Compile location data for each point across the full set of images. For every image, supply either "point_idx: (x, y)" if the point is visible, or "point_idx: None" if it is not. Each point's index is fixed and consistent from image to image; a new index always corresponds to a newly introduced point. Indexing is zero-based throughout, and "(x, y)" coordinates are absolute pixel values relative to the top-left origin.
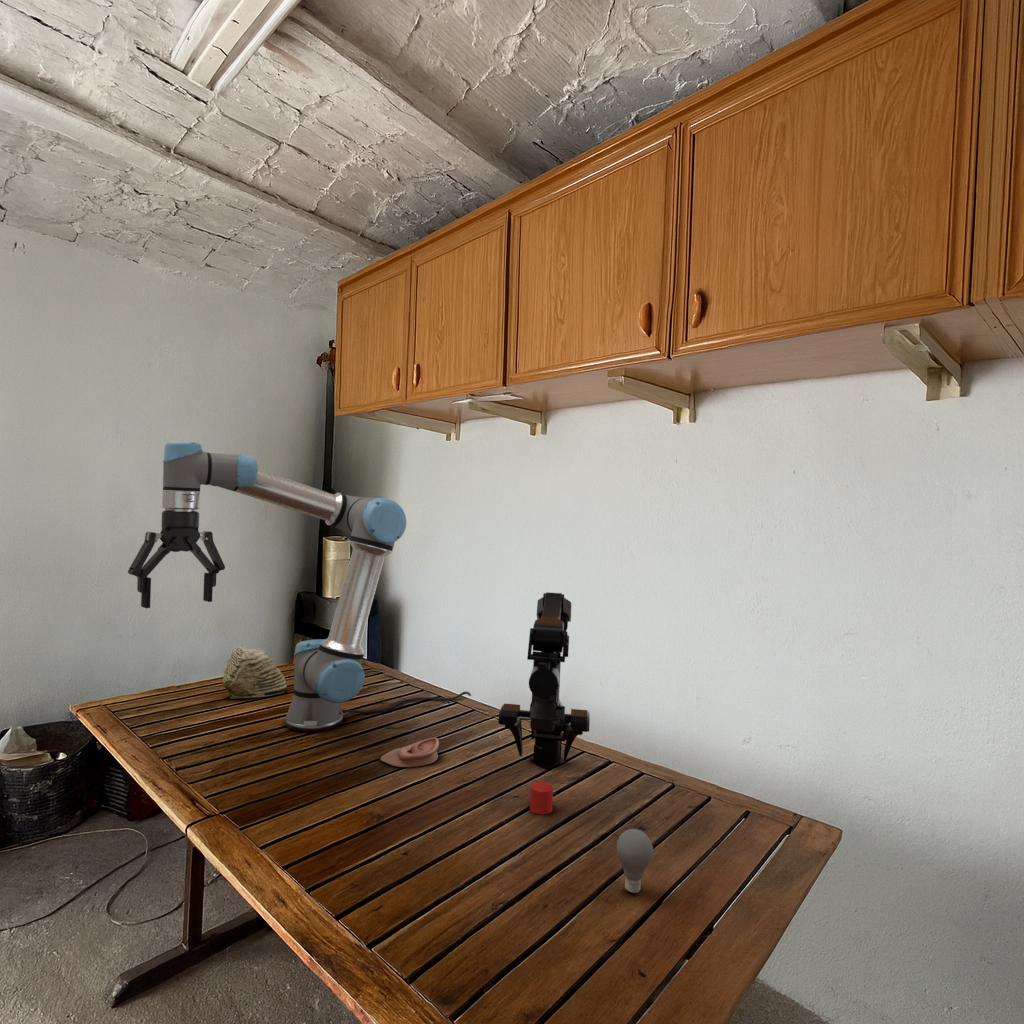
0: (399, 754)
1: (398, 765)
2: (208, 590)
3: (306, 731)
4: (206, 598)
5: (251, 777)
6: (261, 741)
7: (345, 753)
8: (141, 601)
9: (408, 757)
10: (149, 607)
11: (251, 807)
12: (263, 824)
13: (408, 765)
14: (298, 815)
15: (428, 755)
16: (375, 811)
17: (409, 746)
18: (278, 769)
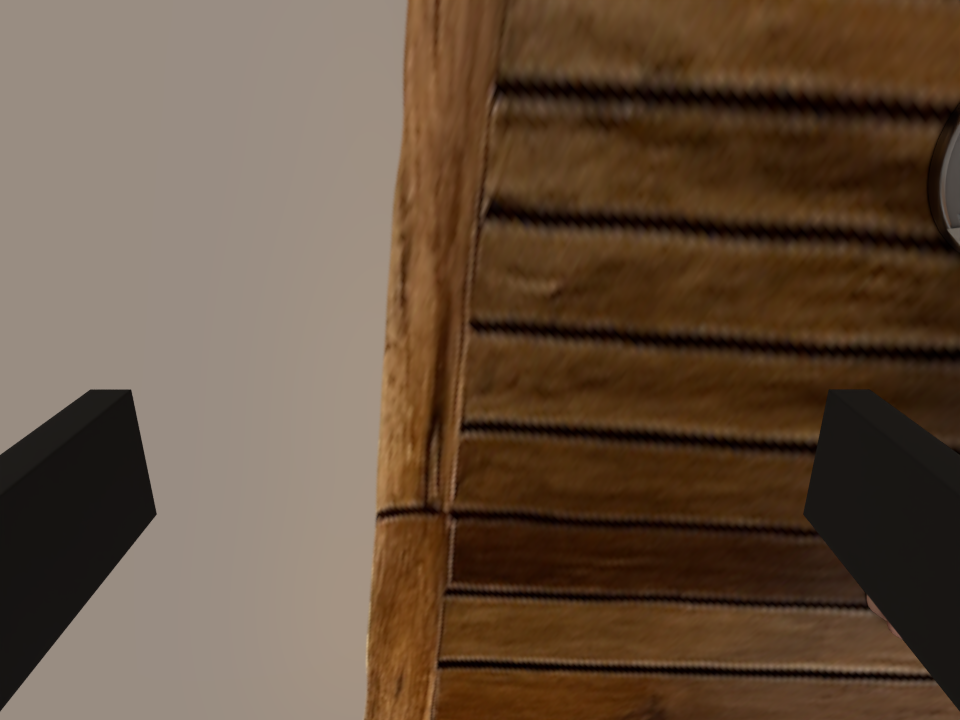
0: None
1: (870, 606)
2: (884, 587)
3: (940, 230)
4: (831, 479)
5: (601, 405)
6: (790, 188)
7: None
8: (55, 423)
9: (896, 635)
10: (147, 519)
11: (510, 534)
12: (487, 605)
13: (885, 619)
14: (557, 621)
15: None
16: (667, 700)
17: None
18: (678, 411)
